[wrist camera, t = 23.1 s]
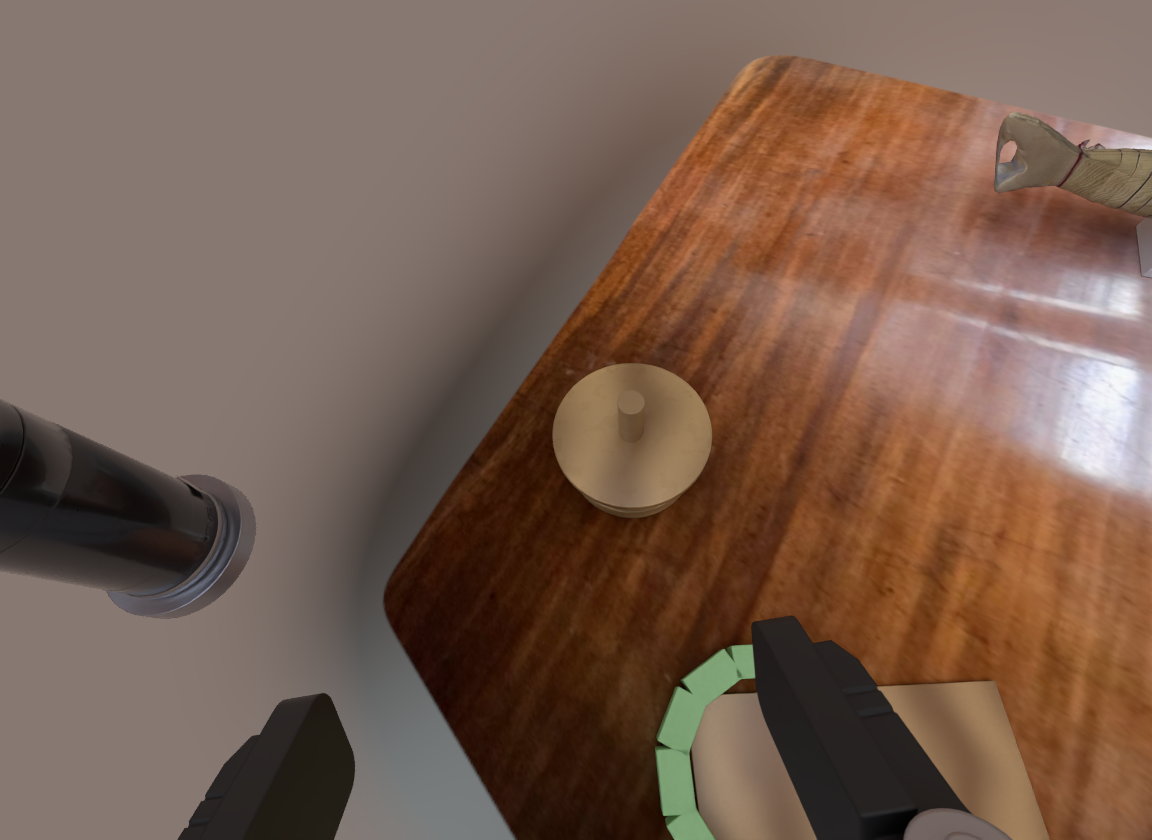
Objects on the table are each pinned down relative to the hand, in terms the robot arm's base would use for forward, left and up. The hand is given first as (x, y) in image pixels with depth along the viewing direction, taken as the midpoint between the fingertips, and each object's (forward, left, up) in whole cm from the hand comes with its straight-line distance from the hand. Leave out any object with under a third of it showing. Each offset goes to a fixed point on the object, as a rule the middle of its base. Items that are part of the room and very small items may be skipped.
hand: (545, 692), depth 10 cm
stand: (+3, +17, -31) cm, 35 cm away
